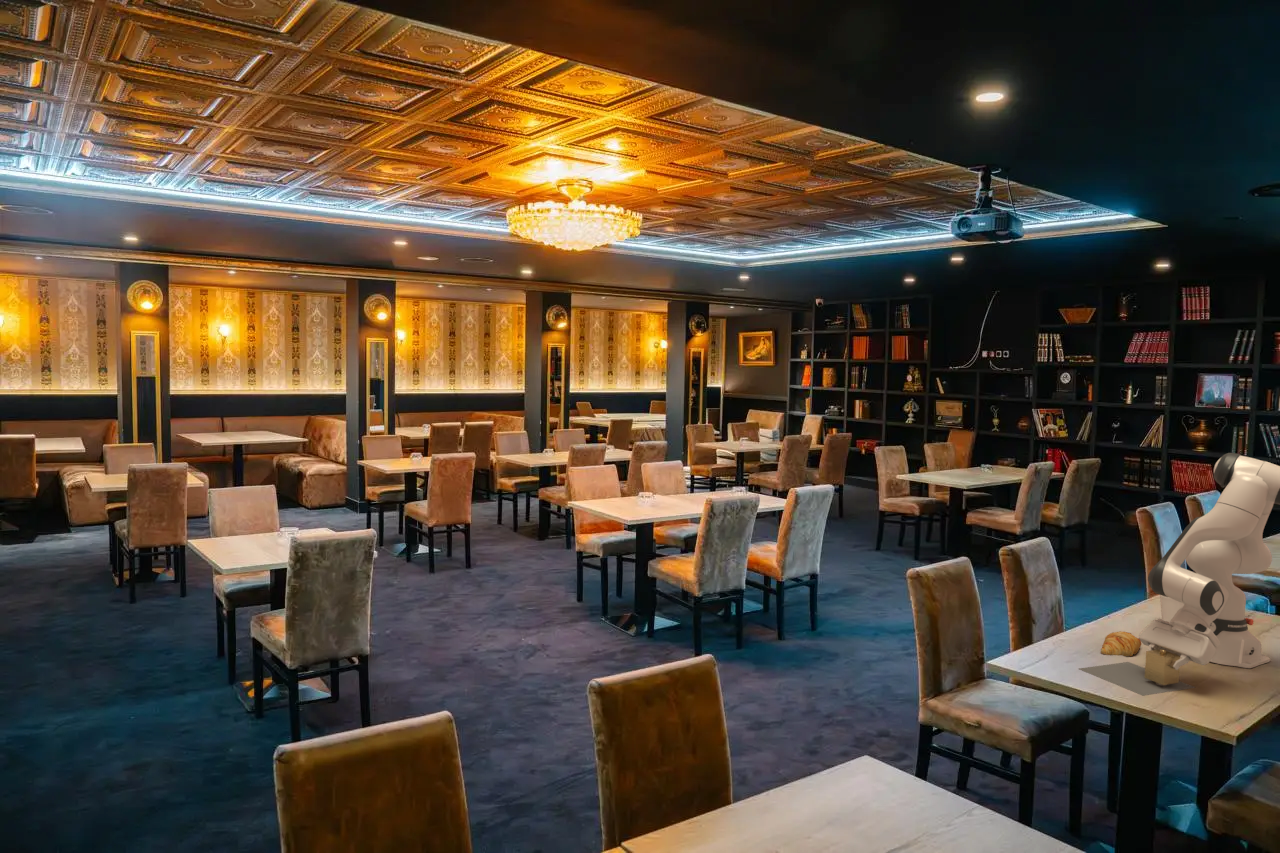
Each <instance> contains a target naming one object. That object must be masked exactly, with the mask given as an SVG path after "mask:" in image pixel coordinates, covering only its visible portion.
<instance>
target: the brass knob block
mask: <svg viewBox="0 0 1280 853" xmlns="http://www.w3.org/2000/svg"><path fill="white" fill-rule="evenodd" d="M1179 659H1181V658H1180V656H1179V655H1176V654H1173V653H1170V652H1168V651H1166V650H1164V649H1159V650H1151V651H1149V650H1146V654H1145V664H1144V665H1145V666H1144V668H1145V678H1147V679H1149V680H1152V681H1154V682H1157V683H1159V684H1162V685H1167V684H1174V683H1178V681H1179V680H1180V677H1179V676H1180V668H1179V669H1178V670H1175V669H1172V668H1171V667H1170V664H1171V663H1172V661H1175V662H1176V661H1177V660H1179Z"/></svg>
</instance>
